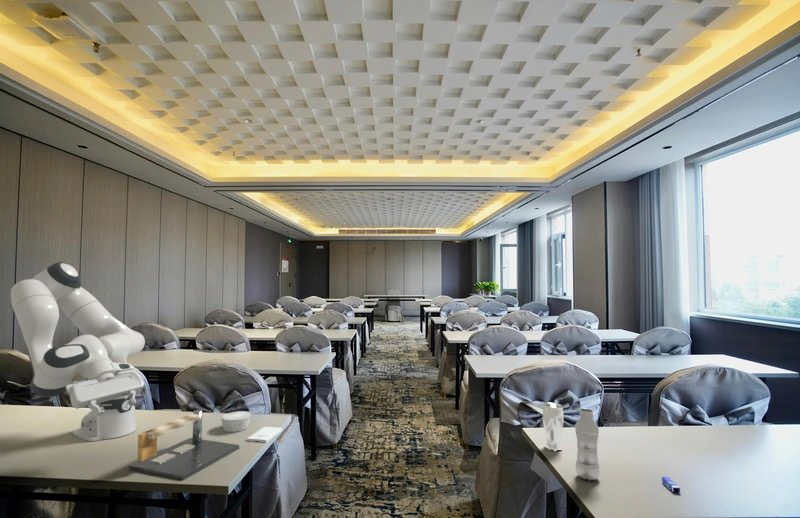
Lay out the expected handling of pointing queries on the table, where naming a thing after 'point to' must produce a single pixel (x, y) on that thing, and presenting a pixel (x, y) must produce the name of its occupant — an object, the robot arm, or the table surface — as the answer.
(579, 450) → the plastic bottle
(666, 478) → the eraser
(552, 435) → the beer glass
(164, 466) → the base plate
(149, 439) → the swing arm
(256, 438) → the external hard drive
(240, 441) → the table surface
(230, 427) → the ramekin
